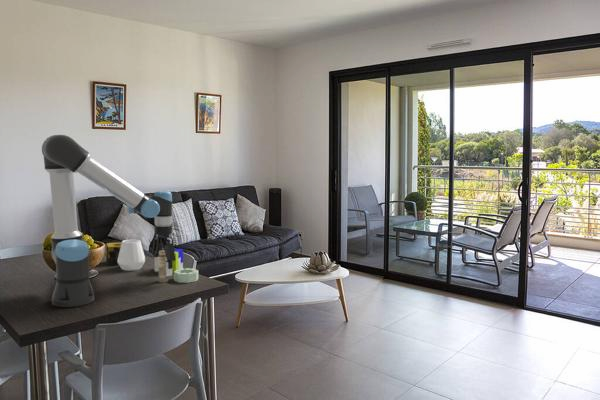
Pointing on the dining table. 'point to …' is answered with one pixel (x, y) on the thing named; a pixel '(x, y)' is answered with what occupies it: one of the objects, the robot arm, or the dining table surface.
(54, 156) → the robot arm
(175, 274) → the bead
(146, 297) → the dining table surface
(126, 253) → the cup
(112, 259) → the candle
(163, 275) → the striped rounded cylinder
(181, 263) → the puzzle toy
